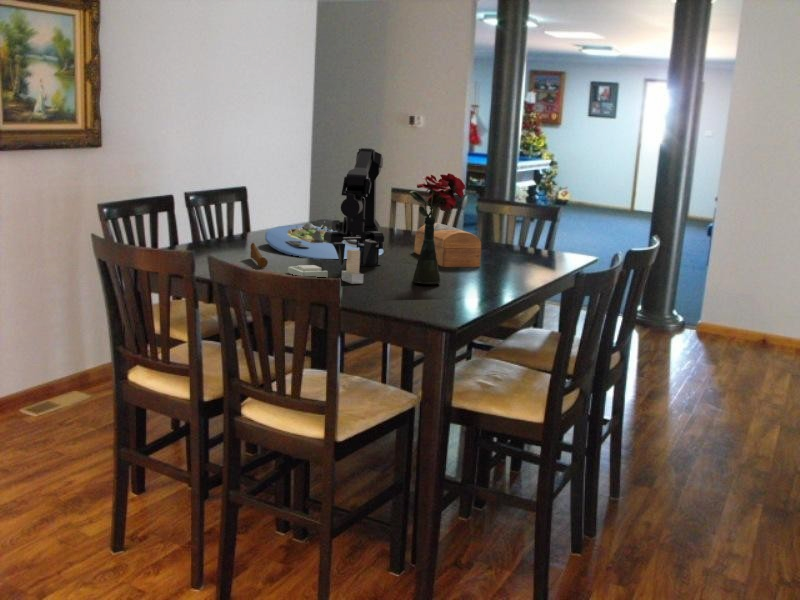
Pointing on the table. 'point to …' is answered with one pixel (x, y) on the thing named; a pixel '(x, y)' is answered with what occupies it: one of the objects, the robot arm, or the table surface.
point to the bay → (307, 272)
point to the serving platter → (306, 241)
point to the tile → (309, 268)
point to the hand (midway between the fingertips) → (353, 264)
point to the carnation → (446, 201)
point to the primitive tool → (258, 256)
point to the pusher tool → (352, 268)
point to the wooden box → (452, 246)
